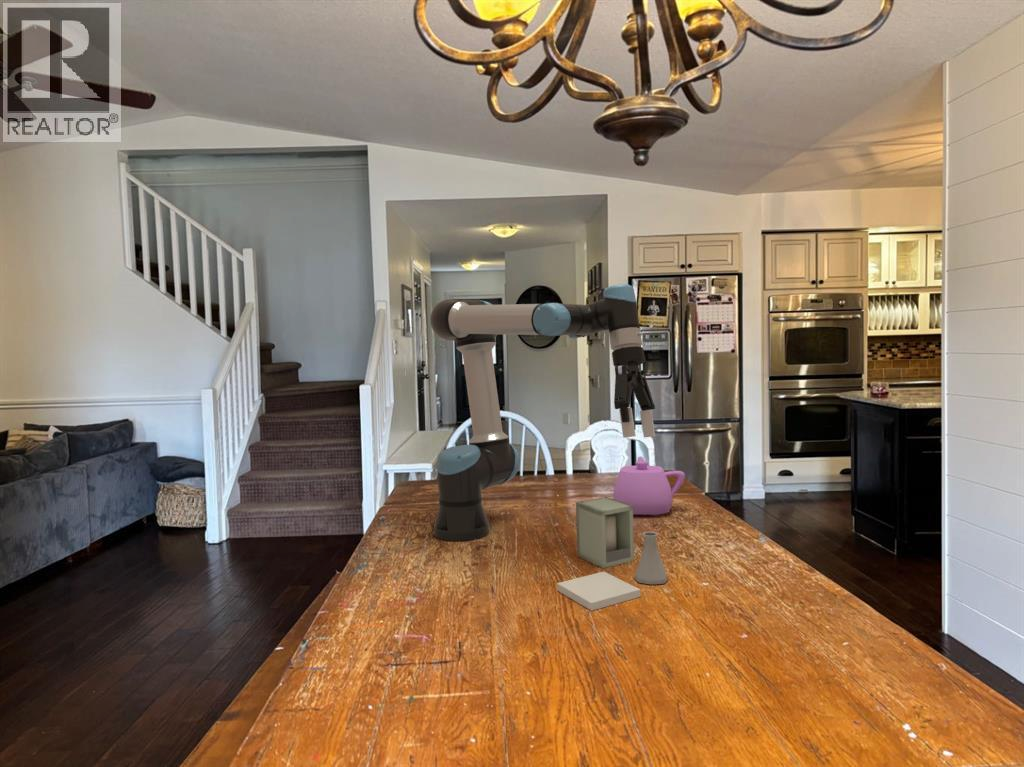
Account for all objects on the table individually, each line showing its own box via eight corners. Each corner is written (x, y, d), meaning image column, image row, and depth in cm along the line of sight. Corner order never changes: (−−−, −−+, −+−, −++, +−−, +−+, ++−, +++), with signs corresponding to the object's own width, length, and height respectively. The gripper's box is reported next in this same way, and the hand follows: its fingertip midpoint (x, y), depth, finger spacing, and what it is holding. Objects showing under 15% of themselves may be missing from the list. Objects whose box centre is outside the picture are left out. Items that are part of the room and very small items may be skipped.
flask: (669, 586, 131) (668, 539, 130) (633, 585, 133) (632, 538, 132) (667, 573, 138) (666, 529, 138) (634, 572, 140) (633, 528, 139)
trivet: (557, 590, 131) (557, 583, 131) (603, 578, 137) (603, 571, 137) (591, 610, 121) (591, 603, 120) (640, 596, 126) (640, 589, 126)
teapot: (688, 519, 179) (687, 466, 178) (612, 518, 183) (611, 466, 182) (681, 499, 201) (681, 452, 200) (614, 498, 205) (613, 452, 204)
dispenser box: (577, 556, 152) (575, 502, 151) (607, 549, 156) (606, 497, 155) (602, 568, 143) (601, 511, 142) (634, 560, 147) (632, 505, 146)
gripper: (622, 338, 139) (636, 434, 136) (659, 351, 160) (671, 434, 157) (591, 345, 143) (604, 439, 140) (631, 357, 164) (643, 438, 161)
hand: (639, 437), depth 148 cm, fingers open, 13 cm apart
